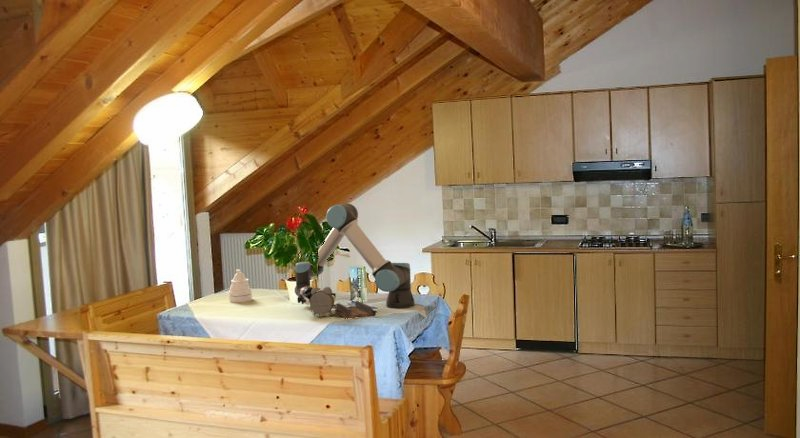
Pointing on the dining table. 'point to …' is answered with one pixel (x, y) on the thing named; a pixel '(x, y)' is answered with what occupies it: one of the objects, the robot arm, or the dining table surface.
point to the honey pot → (240, 288)
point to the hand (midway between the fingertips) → (321, 300)
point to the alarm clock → (322, 301)
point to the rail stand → (354, 310)
